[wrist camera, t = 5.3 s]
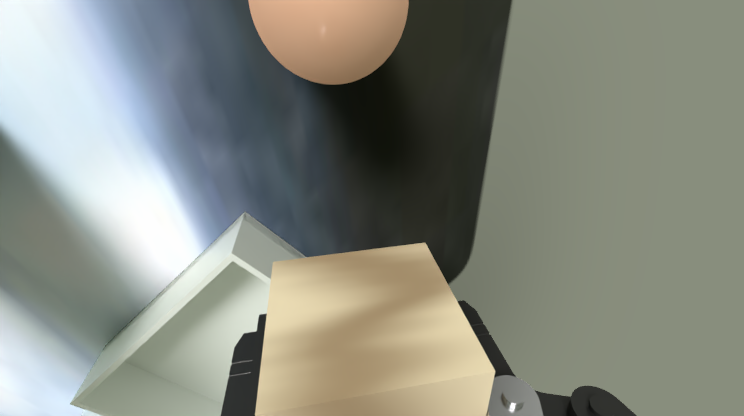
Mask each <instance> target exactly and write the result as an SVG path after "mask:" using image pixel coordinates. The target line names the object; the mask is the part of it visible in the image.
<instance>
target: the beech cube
mask: <svg viewBox="0 0 744 416" xmlns="http://www.w3.org/2000/svg"><path fill="white" fill-rule="evenodd" d="M494 375H495V370H494V368H493V366H492V364H491V362H490V361H489V359H488V357H487V355H486V353H485V351H484V350H483V348H482V346H481V344H480V342H479V340H478V339H477V337H476V335H475V333H474V331H473V329H472V328H471V326H470V324H469V322H468V320H467V318H466V317H465V315H464V313H463V311H462V309H461V307H460V306H459V304H458V302H457V300H456V298H455V297H454V295H453V293H452V291H451V289H450V287H449V286H448V284H447V282H446V280H445V278H444V276H443V275H442V273H441V271H440V269H439V267H438V265H437V264H436V262H435V260H434V258H433V256H432V254H431V253H430V251H429V249H428V247H427V245H426V243H419V244H411V245H403V246H395V247H387V248H379V249H371V250H363V251H355V252H347V253H339V254H331V255H323V256H315V257H307V258H300V259H292V260H284V261H276V262H273V265H272V274H271V282H270V291H269V299H268V308H267V316H266V325H265V334H264V342H263V351H262V359H261V368H260V376H259V385H258V393H257V402H256V411H255V416H486V414H487V410H488V405H489V400H490V395H491V390H492V385H493V380H494Z"/></svg>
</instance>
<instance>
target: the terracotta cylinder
mask: <svg viewBox="0 0 744 416" xmlns="http://www.w3.org/2000/svg"><path fill="white" fill-rule="evenodd" d="M248 1H249V7H250V12H251V15H252V18H253V22H254V24H255V27H256V29H257V31H258V34H259V35H260V37H261V39H262V41H263V43H264V44H265V46H266V47H267V48H268V50H269V51H270V53H271V54H272V55H273V56H274V57H275V58H276V59H277V60H278V61H279V62H280V63H281V64H282V65H283V66H284V67H286V68H287V69H288V70H290V71H291V72H293V73H294V74H296V75H298V76H300V77H302V78H304V79H307V80H309V81H312V82H316V83H321V84H330V85H336V84H345V83H350V82H353V81H356V80H359V79H361V78H363V77H365V76H367V75H369V74H370V73H372V72H373V71H375V70H376V69H377V68H379V67H380V66H381V65H382V64H383V63H384V62H385V61H386V60H387V58H388V57H389V56H390V55H391V53H392V52H393V50H394V49H395V47H396V45H397V43H398V42H399V40H400V38H401V35H402V32H403V29H404V27H405V22H406V18H407V12H408V1H409V0H248Z"/></svg>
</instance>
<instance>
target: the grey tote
mask: <svg viewBox="0 0 744 416" xmlns="http://www.w3.org/2000/svg"><path fill="white" fill-rule="evenodd" d="M300 258H307V257H306V256H304V255H303V254H301V253H300V252H299V251H297V250H296V249H295V248H293V247H292V246H291V245H289V244H288V243H287V242H285V241H284V240H283V239H281V238H280V237H279V236H277V235H276V234H275V233H273V232H272V231H270V230H269V229H268V228H266V227H265V226H264V225H262V224H261V223H260V222H258V221H257V220H256V219H254V218H253V217H252V216H250V215H249V214H248V213H246V212H244V213H243V214H242V215H241V216H240V217H239V218H238V219H237V220H236V221H235V222H234V223H233V224H232V225H230V226H229V227H228V228H227V229H226V230H225V231H224V232H223V233H222V234H221V235H220V236H219V237H218V238H217V239H216V240H215V241H214V242H213V243H212V244H211V245H210V246H209V247H208V248H207V249H206V250H204V251H203V252H202V253H201V254H200V255H199V256H198V257H197V258H196V259H195V260H194V261H193V262H192V263H191V264H190V265H189V266H188V267H187V268H186V269H185V270H184V271H183V272H182V273H181V274H180V275H178V276H177V277H176V278H175V279H174V280H173V281H172V282H171V283H170V284H169V285H168V286H167V287H166V288H165V289H164V290H163V291H162V292H161V293H160V294H159V295H158V296H157V297H156V298H155V299H154V300H152V301H151V302H150V303H149V304H148V305H147V306H146V307H145V308H144V309H143V310H142V311H141V312H140V313H139V314H138V315H137V316H136V317H135V318H134V319H133V320H132V321H131V322H130V323H129V324H127V325H126V326H125V327H124V328H123V329H122V330H121V331H120V332H119V333H118V334H117V335H116V336H115V337H114V338H113V339H112V340H111V341H110V342H109V343H108V344H107V345H106V346H105V348H104V349H103V351H102V353H101V354H100V356H99V358H98V359H97V361H96V362H95V364H94V366H93V367H92V369H91V371H90V372H89V374H88V375H87V377H86V379H85V380H84V382H83V384H82V385H81V387H80V388H79V390H78V392H77V393H76V395H75V397H74V398H73V400H72V401H71V403H70V404H71V405H74V406H77V407H80V408H82V409H85V410H88V411H91V412H94V413H97V414H99V415H102V416H221V411H222V406H223V401H224V397H225V392H226V387H227V382H228V378H229V372H230V367H231V365H232V363H231V362H232V357H233V352H234V347H235V346H236V344H237V343H238V341H239V340H240V338H241V337H242V335H243V334H244V333H249V332H256V331H257V325H258V318H259V315H260V314H267V308H268V299H269V291H270V282H271V274H272V265H273V262H276V261H284V260H292V259H300Z"/></svg>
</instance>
